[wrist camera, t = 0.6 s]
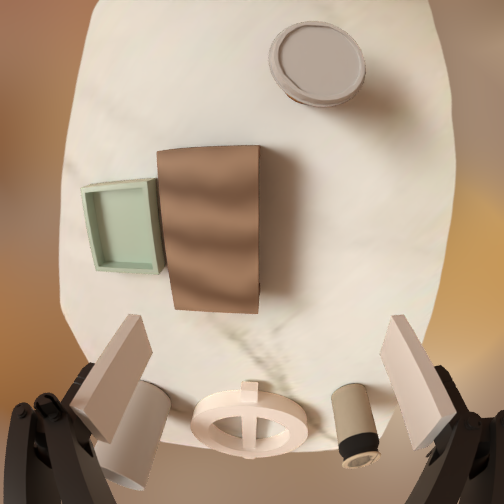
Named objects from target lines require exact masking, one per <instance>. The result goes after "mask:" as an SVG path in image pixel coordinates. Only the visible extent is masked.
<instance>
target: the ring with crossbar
mask: <svg viewBox="0 0 504 504" xmlns="http://www.w3.org/2000/svg"><path fill="white" fill-rule="evenodd" d="M235 416H242V438H240V437H236V436H232V435H229V434H227V433H225V432H223V431H221V430H220V429H218V428H217V427H216V426H215V425H214V424H213V422H215V421H217V420H219V419H223V418H227V417H235ZM257 417H259V418H264V419H268V420H272V421H275V422H277V423H279V424H281V425H283V426H284V427H286V429H285V430H284V431H283V432H281V433H280V434H278V435H275V436H272V437H268V438H261V439H256V425H257ZM191 431H192V433H193V434H194V436H195V437H196V438H197V439H198V440H199V441H200V442H202V443H203V444H205V445H206V446H208V447H210V448H212V449H214V450H217V451H220V452H223V453H226V454H230V455H235V456H241V457H243V458H245V459H255V457H269V456H276V455H280V454H284V453H287V452H290V451H292V450H294V449H296V448H298V447H299V446H300V445H302V444H303V443H304V442H305V440H306V439H307V436H308V426H307V416H306V413H305V411H304V409H303V408H302V407H301V406H300V405H298V404H297V403H296V402H294V401H292V400H290V399H288V398H286V397H283V396H281V395H277V394H274V393H269V392H264V391H258V382H244V381H242V383H241V390H230V391H223V392H218V393H215V394H212V395H209V396H207V397H205V398H203V399H202V400H201V401H199V402H198V404H197V405H196V407H195V409H194V413H193V417H192V421H191Z"/></svg>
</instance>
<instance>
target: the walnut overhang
mask: <svg viewBox="0 0 504 504" xmlns="http://www.w3.org/2000/svg"><path fill="white" fill-rule="evenodd" d="M259 157H260V145H238V146H209V147H191V148H178V149H169V150H163V151H157V168H158V183H159V195H160V206H161V216H162V225H163V233H164V242H165V249H166V257H167V264H168V271H169V277H170V283H171V290H172V295H173V301H174V307H175V310H189V311H204V312H222V313H245V314H258V308H259V295H260V283H259Z"/></svg>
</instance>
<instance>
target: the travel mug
mask: <svg viewBox="0 0 504 504" xmlns="http://www.w3.org/2000/svg"><path fill="white" fill-rule="evenodd" d="M331 400H332V406H333V412H334V419H335V425H336V432H337V439H338V446H339V453H340V454H341V456H342V457H343V458H344V462H343V464H342V466H343V467H344V468H349V469H352V468H359V467H363V466H367V465H369V464H372V463H374V462H375V461H377V460H378V459H379V458H380V457H381V453H380V452H378V449H377V448H378V445H379V438H378V434H377V430H376V426H375V422H374V418H373V414H372V410H371V407H370V403H369V399H368V396H367V392H366V389H365V387H364V386H363V385H360V384H349V385H346V386H343V387H341V388H339V389H337V390H336V391H335V392H334V393H333V394H332V397H331Z"/></svg>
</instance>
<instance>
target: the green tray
mask: <svg viewBox="0 0 504 504" xmlns="http://www.w3.org/2000/svg"><path fill="white" fill-rule="evenodd" d="M80 189H81V197H82V204H83V210H84V216H85V222H86V228H87V233H88V238H89V243H90V248H91V252H92V257H93V261H94V265H95V269H96V271H103V272H119V273H136V274H155V275H159V274H160V272H161V271H162V270H163V268H164V267H165V260H164V253H163V246H162V238H161V230H160V221H159V212H158V202H157V191H156V179H155V178H147V179H135V180H124V181H115V182H105V183H97V184H90V185H87V186H85V187H82V188H80Z"/></svg>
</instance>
